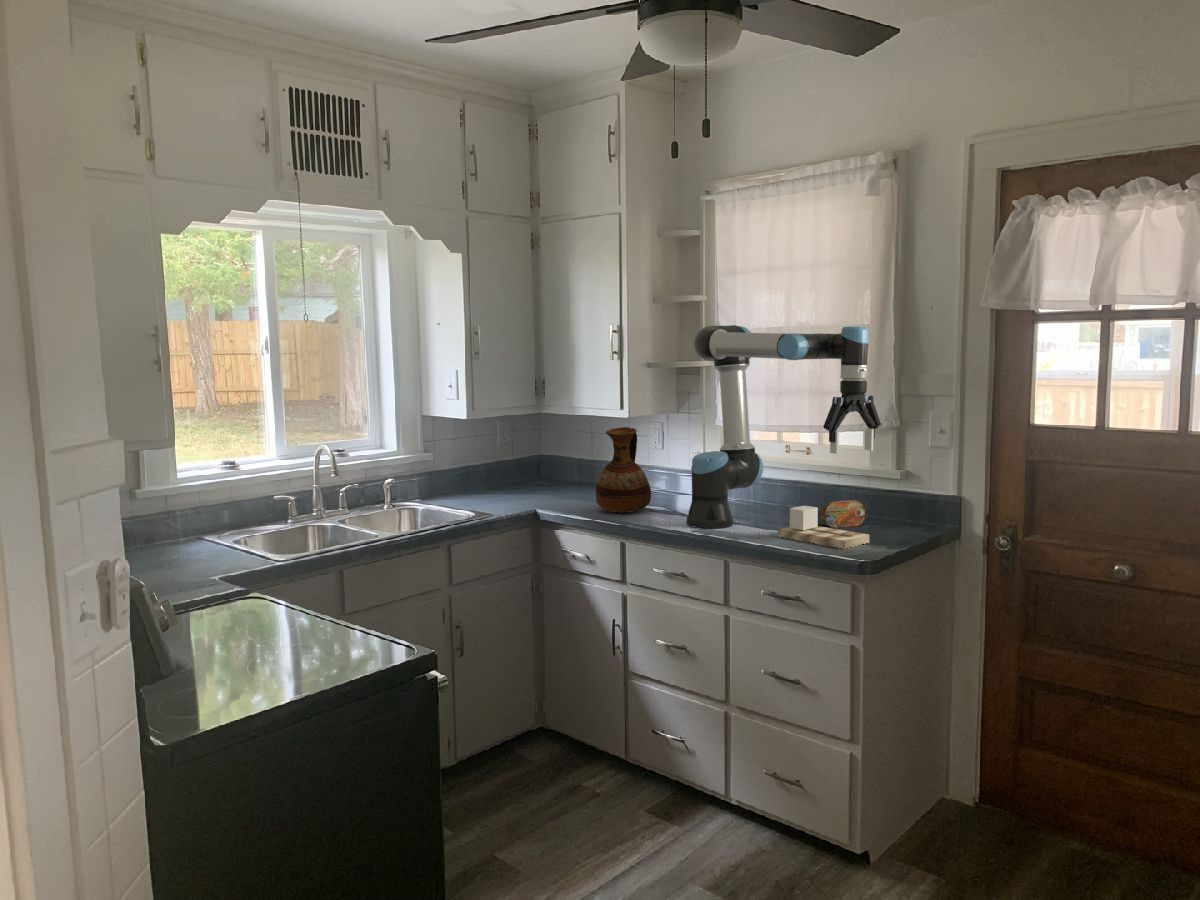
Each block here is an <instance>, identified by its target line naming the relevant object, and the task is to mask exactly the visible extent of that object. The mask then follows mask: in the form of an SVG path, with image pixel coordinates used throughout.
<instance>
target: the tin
mask: <svg viewBox="0 0 1200 900" xmlns="http://www.w3.org/2000/svg"><path fill="white" fill-rule="evenodd" d="M866 518H867V509H866V506H865V504H864V503H863V502H861V500H857V499H855V500H854V499H851V500H849V499H848V500H840V501H839V500H838V501H830V502H827V503H826V504H825V505H824V506H823V508H822V511H821V519H822V522H823V523H824V524H825V525H826V526H828V528H832V529H839V528H838V527H842V528H851V527H850V526H853V527H858V526H860V525H862V524H863V523H864V522H865V519H866Z"/></svg>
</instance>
